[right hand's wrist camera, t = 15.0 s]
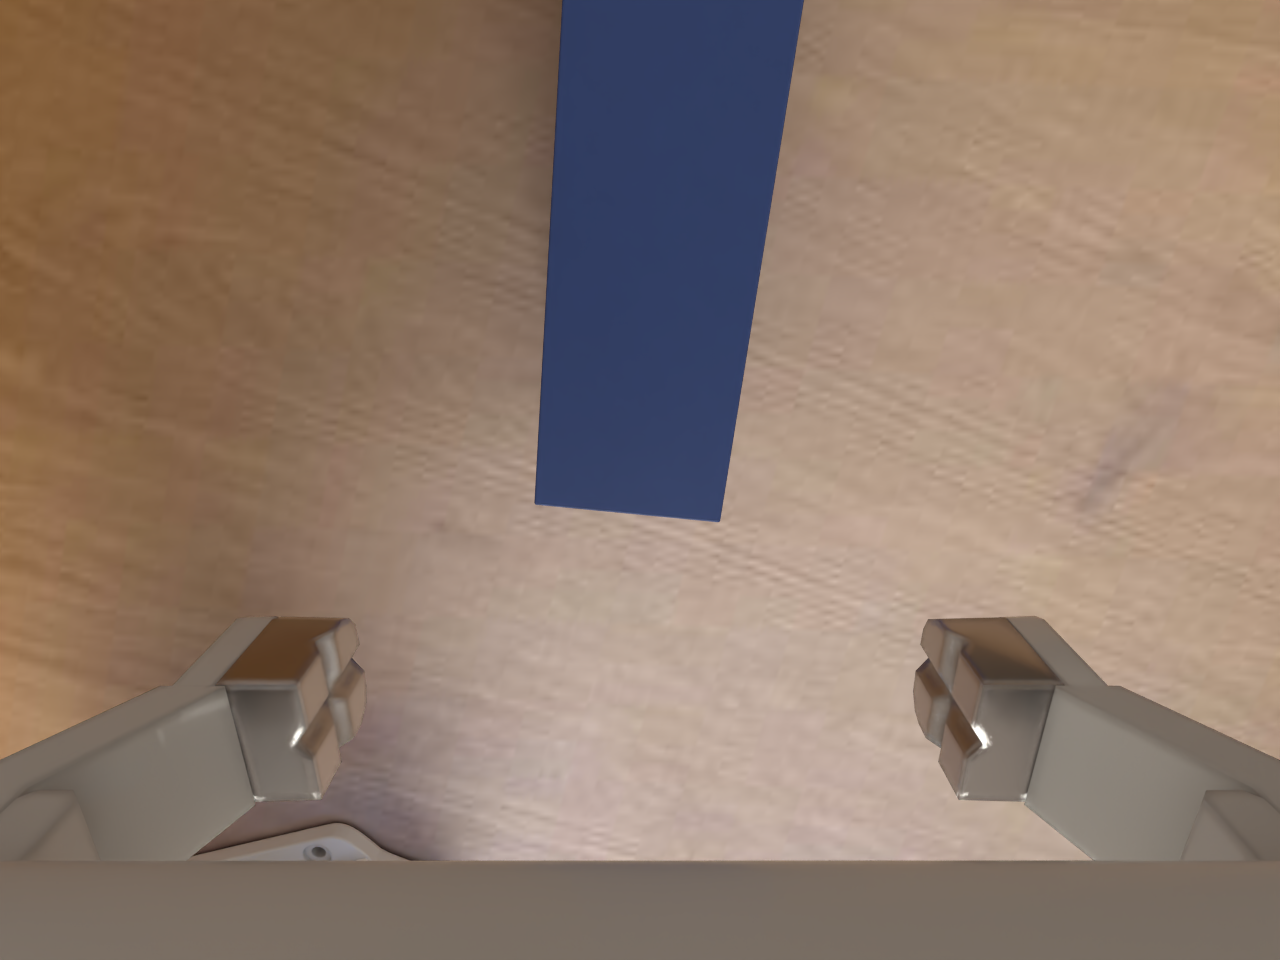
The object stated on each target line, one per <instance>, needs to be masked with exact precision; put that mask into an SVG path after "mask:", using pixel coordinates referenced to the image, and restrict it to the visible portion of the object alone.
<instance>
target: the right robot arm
mask: <svg viewBox="0 0 1280 960" xmlns="http://www.w3.org/2000/svg"><path fill="white" fill-rule="evenodd" d="M359 645H360V644H359V639H358V634H357V630H356V625H355V624H354V623H353V622H352V621H351V620H350V619H349V618H322V617H276V616H258V617H243V618H238V619H236V620H235V621H234V622H233V623H232V624H231V625H230V626H229V627H228V628H227V629H226V630H225V631H224V633H223V634H222V635H221V636H220V637H219V638H218V639H217V640H216V641H215V642H214V643H213V644H212V645H211V646H210V647H209V648H208V649H207V650H206V651H205V652H204V653H203V654H202V655H201V656H200V657H199V658H198V659H197V661H196V662H195V663H194V664H193V665H192V666H191V667H190V668H189V669H188V670H187V671H186V672H185V673H184V674H183V675H182V676H181V677H180V678H179V679H178V680H177V681H176V682H175V683H174V684H173V685H172V686H159V687H157V688H155V689H152V690H150V691H148V692H146V693H144V694H142V695H140V696H137V697H135V698H133V699H131V700H129V701H127V702H124V703H122V704H120V705H118V706H116V707H114V708H111V709H109V710H107V711H105V712H103V713H101V714H99V715H96V716H94V717H92V718H90V719H88V720H86V721H83V722H81V723H79V724H77V725H75V726H73V727H70V728H68V729H66V730H64V731H62V732H60V733H58V734H55V735H53V736H51V737H49V738H47V739H45V740H42V741H40V742H38V743H36V744H34V745H32V746H29V747H27V748H25V749H23V750H21V751H19V752H16V753H14V754H12V755H10V756H8V757H6V758H4V759H1V760H0V960H1280V760H1278V759H1276V758H1274V757H1272V756H1270V755H1267V754H1265V753H1263V752H1261V751H1259V750H1257V749H1254V748H1252V747H1250V746H1248V745H1246V744H1244V743H1242V742H1239V741H1237V740H1235V739H1233V738H1231V737H1229V736H1227V735H1224V734H1222V733H1220V732H1218V731H1216V730H1214V729H1211V728H1209V727H1207V726H1205V725H1203V724H1201V723H1199V722H1196V721H1194V720H1192V719H1190V718H1188V717H1186V716H1183V715H1181V714H1179V713H1177V712H1175V711H1173V710H1171V709H1168V708H1166V707H1164V706H1162V705H1160V704H1158V703H1155V702H1153V701H1151V700H1149V699H1147V698H1145V697H1143V696H1140V695H1138V694H1136V693H1134V692H1132V691H1130V690H1127V689H1125V688H1123V687H1121V686H1108V685H1107V684H1106V683H1105V682H1104V681H1103V680H1102V679H1101V678H1100V677H1099V676H1098V675H1097V674H1096V673H1095V672H1094V671H1093V670H1092V669H1091V668H1090V667H1089V666H1088V665H1087V664H1086V662H1085V661H1084V660H1083V659H1082V658H1081V657H1080V656H1079V655H1078V654H1077V653H1076V652H1075V651H1074V650H1073V649H1072V648H1071V647H1070V646H1069V645H1068V644H1067V643H1066V642H1065V641H1064V640H1063V639H1062V638H1061V636H1060V635H1059V634H1058V633H1057V632H1056V631H1055V630H1054V629H1053V628H1052V627H1051V626H1050V625H1049V624H1048V623H1047V622H1046V621H1045V620H1044V619H1041V618H1039V617H1036V616H1020V617H999V618H960V619H928V620H927V622H926V625H925V627H924V629H923V633H922V638H921V644H920V645H921V646H922V648H923V650H924V651H925V653H926V654H927V656H928V659H927V660H926V661H925V662H924V663H923V664H922V665H921V666H920V667H919V668H918V669H917V670H916V673H915V681H914V688H913V695H914V706H915V712H916V716H917V719H918V723H919V725H920V727H921V729H922V731H923V733H924V735H925V737H926V738H927V739H928V740H930V741H931V742H933V743H934V744H936V745H937V746H938V747H940V748H941V751H940V756H939V761H938V762H939V764H940V766H941V768H942V769H943V771H944V773H945V775H946V777H947V779H948V781H949V783H950V784H951V786H952V788H953V790H954V792H955V794H956V796H957V797H958V799H959V800H982V801H1018V802H1025V804H1024V805H1025V806H1027V807H1028V808H1029V809H1030V810H1032V811H1033V812H1034V813H1035V814H1037V815H1038V816H1039V817H1040V818H1042V819H1043V820H1044V821H1045V822H1047V823H1048V824H1049V825H1050V826H1052V827H1053V828H1054V829H1055V830H1056V831H1058V832H1059V833H1060V834H1061V835H1063V836H1064V837H1065V838H1066V839H1068V840H1069V841H1070V842H1071V843H1073V844H1074V845H1075V846H1076V847H1078V848H1079V849H1080V850H1081V851H1083V852H1084V853H1085V854H1086V855H1088V856H1089V857H1090V858H1091V859H1093V860H1094V861H410V860H407V859H405V858H402V857H399V856H397V855H394V854H392V853H390V852H387V851H385V850H383V849H381V848H380V847H379V846H378V845H376V844H375V843H374V842H373V841H372V840H370V839H369V838H368V837H367V836H365V835H364V834H363V833H361V832H360V831H358V830H357V829H355V828H353V827H351V826H349V825H347V824H343V823H331V824H326V825H322V826H318V827H314V828H309V829H305V830H301V831H297V832H292V833H288V834H284V835H280V836H275V837H271V838H267V839H263V840H258V841H254V842H250V843H246V844H241V845H237V846H233V847H229V848H224V849H220V850H216V851H212V852H207V853H203V854H199V855H195V856H193V855H194V854H195V853H196V852H198V851H199V850H200V849H201V848H203V847H204V846H205V845H206V844H208V843H209V842H210V841H211V840H213V839H214V838H215V837H216V836H218V835H219V834H220V833H221V832H223V831H224V830H225V829H226V828H228V827H229V826H230V825H231V824H233V823H234V822H235V821H236V820H237V819H239V818H240V817H241V816H242V815H244V814H245V813H246V812H247V811H249V810H250V809H251V808H252V807H254V806H255V802H262V801H297V800H321V799H322V798H323V796H324V794H325V792H326V790H327V788H328V786H329V784H330V783H331V781H332V779H333V777H334V775H335V773H336V771H337V770H338V768H339V766H340V764H341V762H342V761H341V756H340V751H339V748H340V747H342V746H343V745H344V744H346V743H347V742H349V741H350V740H352V739H353V738H354V737H355V735H356V733H357V731H358V729H359V727H360V725H361V723H362V719H363V715H364V710H365V706H366V679H365V673H364V670H363V669H362V668H361V667H360V666H359V665H358V664H357V663H356V662H355V661H354V660H353V659H352V656H353V654H354V653H355V651H356V650H357V648H358V646H359Z"/></svg>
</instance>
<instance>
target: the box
mask: <svg viewBox="0 0 1280 960" xmlns="http://www.w3.org/2000/svg"><path fill="white" fill-rule="evenodd" d="M803 2H804V0H562V17H561V36H560V54H559V72H558V90H557V108H556V126H555V144H554V162H553V180H552V198H551V216H550V234H549V252H548V270H547V288H546V306H545V324H544V342H543V360H542V378H541V396H540V414H539V432H538V450H537V468H536V486H535V504H536V505H545V506H555V507H566V508H576V509H586V510H597V511H607V512H618V513H628V514H639V515H649V516H659V517H670V518H680V519H691V520H701V521H711V522H719V521H720V518H721V512H722V506H723V499H724V493H725V487H726V481H727V474H728V468H729V462H730V456H731V450H732V443H733V437H734V431H735V425H736V419H737V412H738V406H739V400H740V394H741V388H742V381H743V375H744V369H745V363H746V356H747V350H748V344H749V338H750V332H751V325H752V319H753V313H754V307H755V301H756V294H757V288H758V282H759V276H760V270H761V263H762V257H763V251H764V245H765V238H766V232H767V226H768V220H769V214H770V207H771V201H772V195H773V189H774V183H775V176H776V170H777V164H778V158H779V151H780V145H781V139H782V133H783V127H784V120H785V114H786V108H787V102H788V96H789V89H790V83H791V77H792V71H793V65H794V58H795V52H796V46H797V40H798V33H799V27H800V21H801V15H802V9H803Z"/></svg>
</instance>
